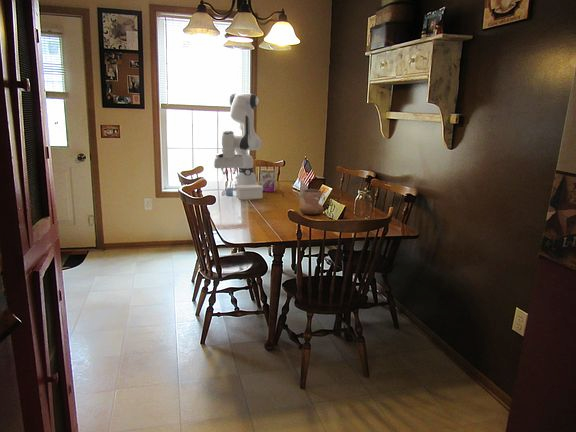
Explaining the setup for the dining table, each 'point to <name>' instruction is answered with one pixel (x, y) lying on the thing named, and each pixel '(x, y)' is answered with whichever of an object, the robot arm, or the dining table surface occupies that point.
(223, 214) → the dining table surface
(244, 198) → the carton
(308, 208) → the ceramic jug
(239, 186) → the lid
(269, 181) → the candy bar box
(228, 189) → the blue tapered cylinder
